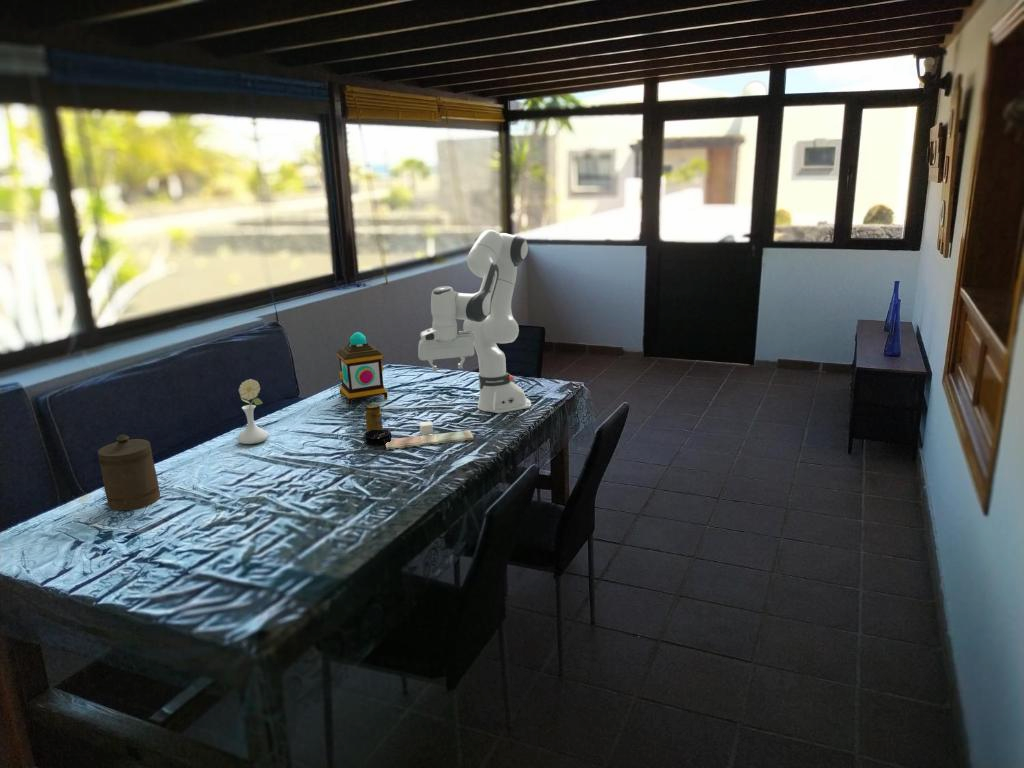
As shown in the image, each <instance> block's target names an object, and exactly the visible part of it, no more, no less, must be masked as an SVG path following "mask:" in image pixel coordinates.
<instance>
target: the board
mask: <svg viewBox="0 0 1024 768" xmlns="http://www.w3.org/2000/svg"><path fill="white" fill-rule="evenodd" d="M390 439H391V441H390V442H387V443H386V444H385V448H386V451H387V450H388V451H389V449H391V450H396V449H395V448H399V449H405V447H408V448H414V447H413V446H417V447H421V446H420V445H425V446H431V445H430V444H434V445H439V444H438V443H443V444H449V443H450V442H451V443H459V441H460V442H466V441H465V440H468V441H474V440H475V438H474V436H473V434H472V431H471V430H469V429H468V430H459V431H451V432H443V433H441V432H440V433H433V435H424V436H421V435H417V436H406V437H399V438H390ZM451 443H450V444H451Z"/></svg>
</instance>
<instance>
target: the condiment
mask: <svg viewBox="0 0 1024 768" xmlns="http://www.w3.org/2000/svg"><path fill="white" fill-rule="evenodd" d="M380 407H381V405H379V404H377V403H372V404H371V403H370V404H366V406H365V415H364V416H365V427H366V432H367V431H370V430H383V431H384V428H383V427H384V426H383V417H382V416H383V415H382V411H381V408H380ZM363 435H364V434H362V437H364V436H363Z"/></svg>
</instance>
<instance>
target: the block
mask: <svg viewBox="0 0 1024 768" xmlns="http://www.w3.org/2000/svg"><path fill="white" fill-rule="evenodd" d="M420 432H421V433H420ZM419 433H420V436H421V435H429V434H434V425H433V422H432V421H431V420H430V421H421V422H419Z"/></svg>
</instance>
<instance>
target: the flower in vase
mask: <svg viewBox="0 0 1024 768" xmlns="http://www.w3.org/2000/svg"><path fill="white" fill-rule="evenodd" d="M260 386H261V385H260V384H259V382H258V380H255V379H252V378H249V379H246V380H245V381H243V382H241V384H240V385H239V388H238V392H239V395H240V399H241V401H242V402H245V403H247V405H243V406H242V407H241V409H242V410H243V412H244V413H245V416H246V421H247V425H246V427H245V428H244V430H242V431H241V432H240V433H239V435H238V436H237V438H236V439H237V441H238V443H240V444H243V445H244V444H245V445H253V444H258V443H261V442H264V441H265V440H267V439H268V438H269V435H270V434H269V433H268V432H267V431H266V430H264V429H263V428H261V427H259V426H257V425H256V423H255V420H254V410H255V409H256V407H257V406H259V405H262V404H264V403H263V402H262V400H261V399H260V398H259V397H258V395H259V394H260V391H261V387H260ZM251 400H252V401H251ZM250 401H251V402H250ZM253 403H254V404H253Z"/></svg>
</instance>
